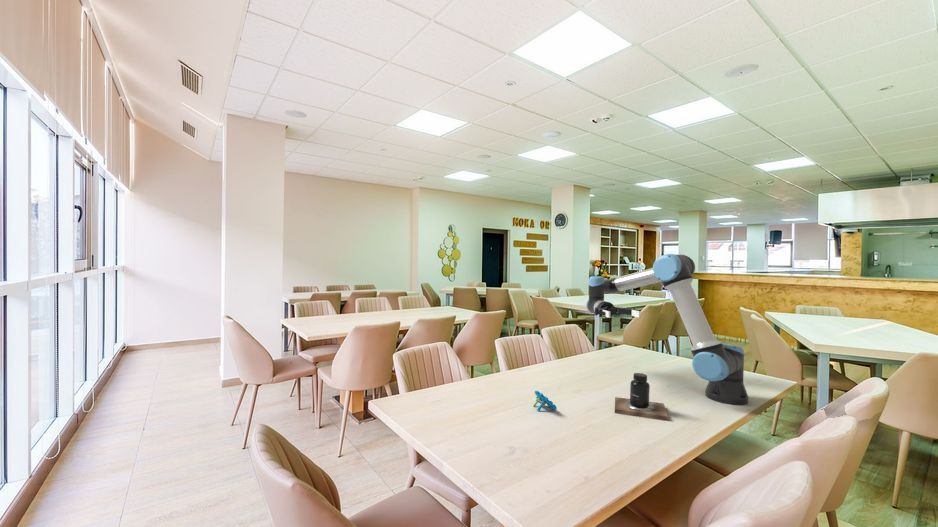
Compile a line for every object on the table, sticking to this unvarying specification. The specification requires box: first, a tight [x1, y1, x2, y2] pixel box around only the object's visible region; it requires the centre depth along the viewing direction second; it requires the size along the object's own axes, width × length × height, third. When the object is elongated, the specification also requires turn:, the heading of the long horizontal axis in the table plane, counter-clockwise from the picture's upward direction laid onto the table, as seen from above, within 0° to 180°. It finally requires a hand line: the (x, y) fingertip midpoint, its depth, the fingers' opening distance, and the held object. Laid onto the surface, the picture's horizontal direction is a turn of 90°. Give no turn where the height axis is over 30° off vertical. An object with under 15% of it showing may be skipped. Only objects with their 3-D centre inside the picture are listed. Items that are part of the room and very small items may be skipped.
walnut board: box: [614, 396, 669, 422], centre depth 149 cm, size 18×14×2 cm
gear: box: [532, 390, 558, 412], centre depth 148 cm, size 11×6×10 cm
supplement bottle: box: [629, 372, 651, 408], centre depth 149 cm, size 7×7×12 cm
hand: (624, 314), depth 167 cm, fingers open, 13 cm apart
